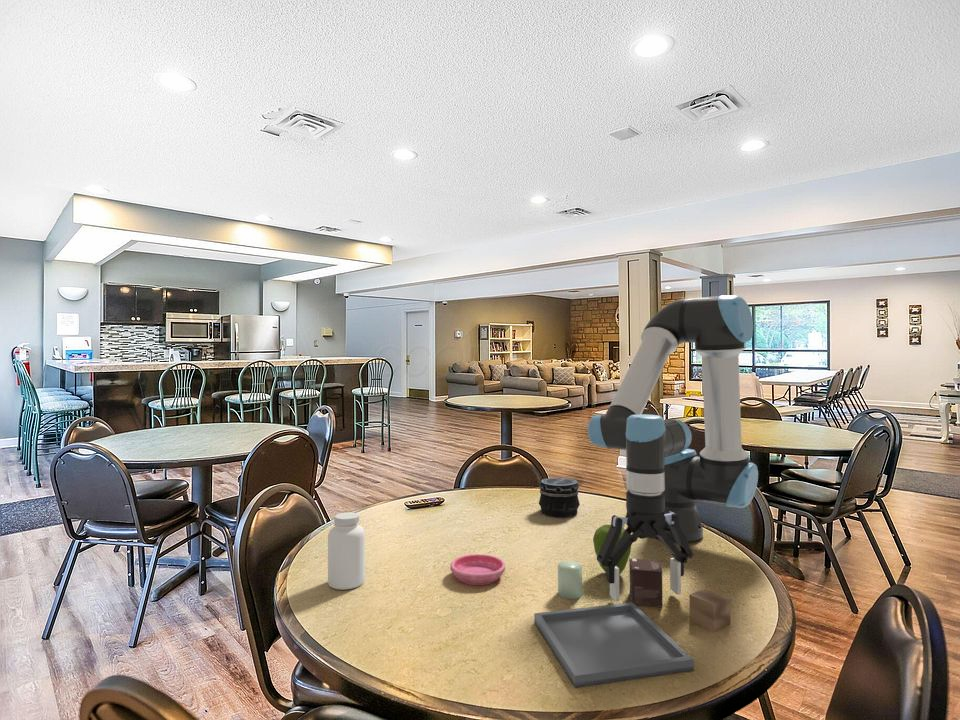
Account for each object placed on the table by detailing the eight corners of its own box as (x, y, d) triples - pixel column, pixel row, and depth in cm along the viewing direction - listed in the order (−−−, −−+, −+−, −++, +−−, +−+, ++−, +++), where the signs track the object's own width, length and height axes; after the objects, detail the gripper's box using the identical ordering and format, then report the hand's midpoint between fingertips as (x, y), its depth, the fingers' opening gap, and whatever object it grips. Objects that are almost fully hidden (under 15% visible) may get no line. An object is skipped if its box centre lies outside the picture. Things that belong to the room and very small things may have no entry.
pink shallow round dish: (478, 562, 131) (478, 549, 131) (516, 577, 122) (516, 563, 122) (439, 577, 122) (439, 563, 122) (477, 594, 113) (477, 579, 113)
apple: (585, 570, 125) (585, 521, 125) (615, 564, 128) (615, 516, 128) (609, 585, 117) (608, 532, 117) (640, 578, 120) (639, 527, 120)
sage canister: (576, 587, 116) (576, 559, 116) (585, 598, 111) (585, 569, 111) (554, 589, 115) (554, 562, 115) (562, 600, 110) (562, 571, 110)
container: (539, 506, 178) (539, 476, 178) (578, 507, 176) (578, 477, 176) (538, 517, 165) (537, 485, 165) (580, 519, 163) (580, 486, 163)
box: (663, 608, 106) (662, 571, 106) (631, 605, 108) (631, 569, 108) (659, 594, 112) (658, 559, 112) (629, 592, 114) (629, 557, 113)
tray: (632, 611, 105) (632, 602, 105) (693, 670, 85) (693, 659, 85) (534, 622, 101) (534, 613, 101) (574, 687, 81) (574, 675, 81)
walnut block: (706, 613, 104) (706, 588, 104) (730, 624, 100) (730, 598, 100) (689, 620, 101) (689, 594, 101) (713, 632, 97) (713, 604, 97)
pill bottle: (371, 578, 122) (371, 511, 121) (352, 593, 114) (351, 522, 114) (341, 573, 124) (341, 508, 124) (320, 588, 117) (319, 519, 116)
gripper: (689, 483, 116) (689, 581, 116) (580, 490, 111) (580, 592, 111) (711, 492, 109) (711, 597, 109) (595, 499, 103) (595, 609, 104)
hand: (645, 595), depth 110 cm, fingers open, 13 cm apart
